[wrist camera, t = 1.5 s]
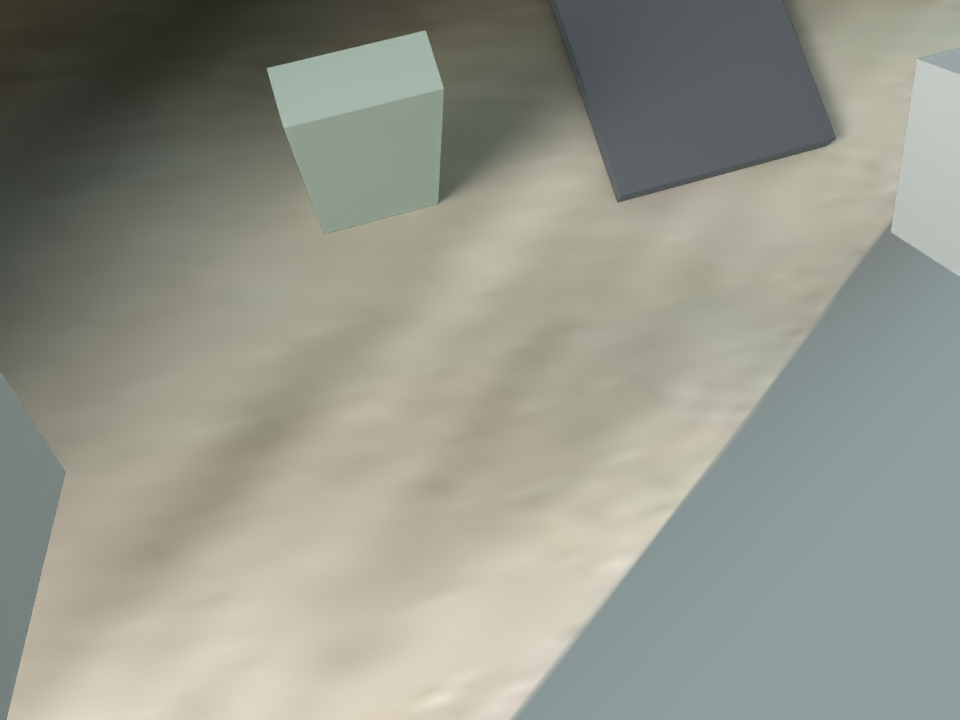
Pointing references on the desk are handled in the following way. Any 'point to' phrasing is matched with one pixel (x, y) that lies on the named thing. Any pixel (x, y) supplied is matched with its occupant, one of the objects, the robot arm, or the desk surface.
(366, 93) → the domino
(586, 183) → the desk surface
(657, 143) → the domino mat
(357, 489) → the desk surface
